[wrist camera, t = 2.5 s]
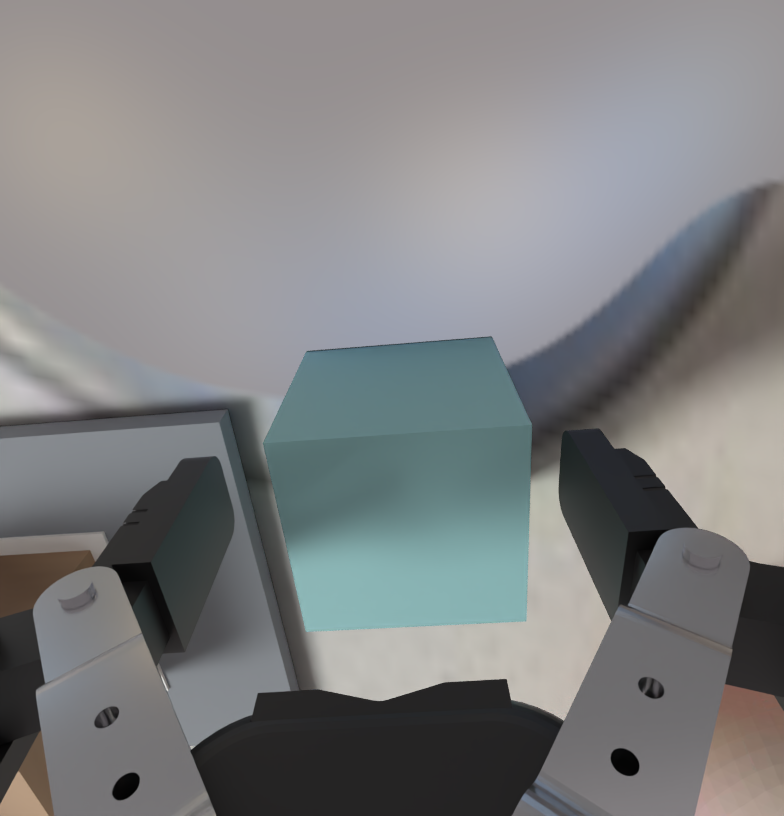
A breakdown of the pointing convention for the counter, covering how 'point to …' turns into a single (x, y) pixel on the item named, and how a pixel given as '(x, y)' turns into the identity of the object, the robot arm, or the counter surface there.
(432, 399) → the teal block
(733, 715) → the decorative fruit
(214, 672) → the build mat
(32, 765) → the walnut block
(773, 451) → the counter surface
